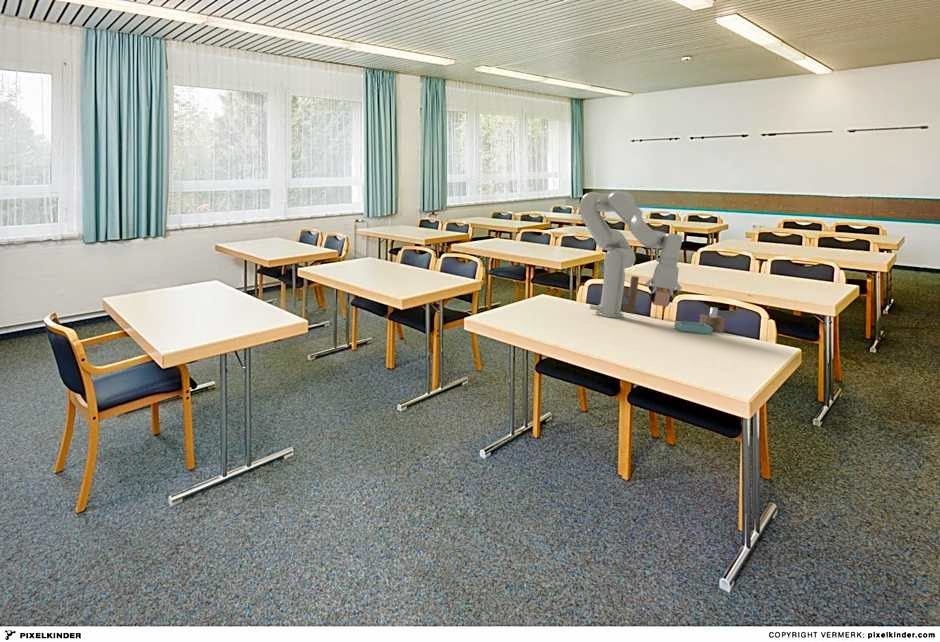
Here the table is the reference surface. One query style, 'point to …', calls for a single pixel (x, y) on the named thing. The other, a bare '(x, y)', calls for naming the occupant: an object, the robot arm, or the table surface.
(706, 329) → the tray
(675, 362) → the table surface
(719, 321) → the brown block
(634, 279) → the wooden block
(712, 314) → the pin gauge
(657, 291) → the block
